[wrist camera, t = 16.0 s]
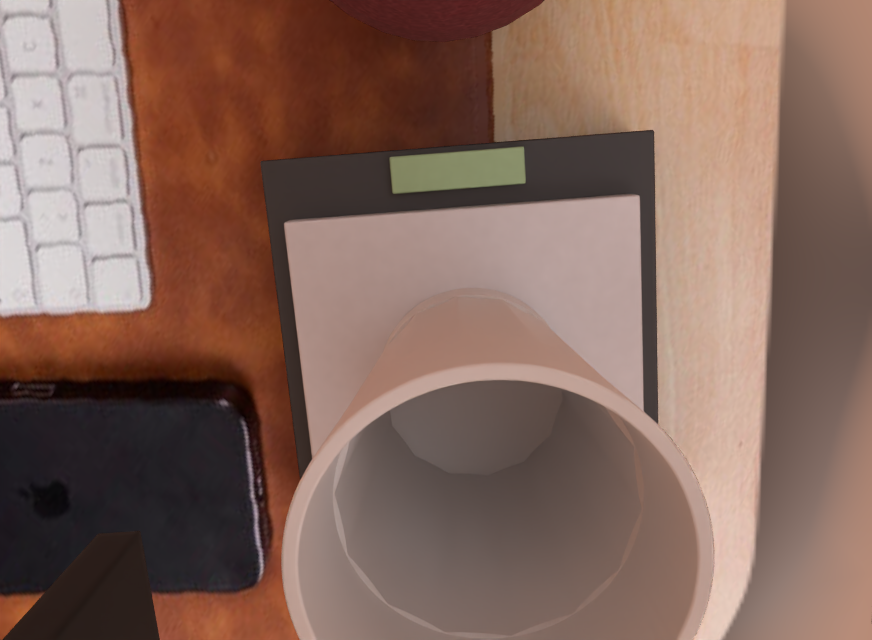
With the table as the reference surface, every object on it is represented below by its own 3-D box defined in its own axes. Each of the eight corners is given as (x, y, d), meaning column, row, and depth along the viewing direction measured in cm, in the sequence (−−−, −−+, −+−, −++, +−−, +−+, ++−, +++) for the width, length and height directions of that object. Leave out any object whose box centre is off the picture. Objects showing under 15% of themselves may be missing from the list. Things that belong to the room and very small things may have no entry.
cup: (465, 530, 27) (482, 825, 15) (306, 373, 26) (190, 561, 14) (637, 384, 26) (803, 582, 14) (479, 212, 24) (514, 268, 13)
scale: (631, 132, 27) (661, 128, 24) (638, 486, 30) (666, 533, 27) (279, 160, 28) (253, 161, 24) (320, 508, 31) (303, 557, 27)
